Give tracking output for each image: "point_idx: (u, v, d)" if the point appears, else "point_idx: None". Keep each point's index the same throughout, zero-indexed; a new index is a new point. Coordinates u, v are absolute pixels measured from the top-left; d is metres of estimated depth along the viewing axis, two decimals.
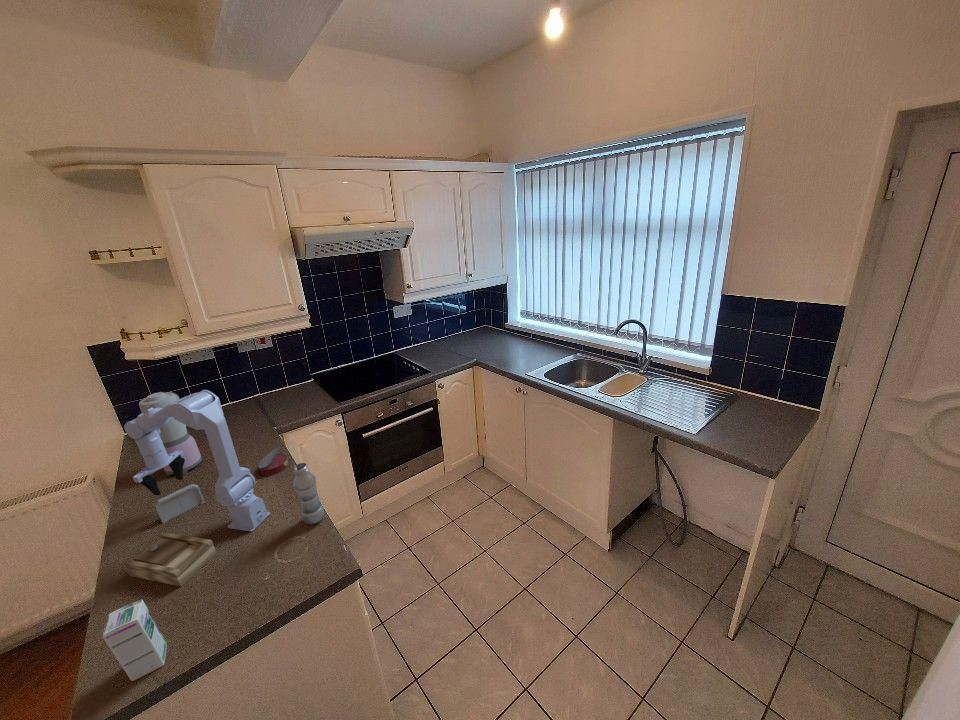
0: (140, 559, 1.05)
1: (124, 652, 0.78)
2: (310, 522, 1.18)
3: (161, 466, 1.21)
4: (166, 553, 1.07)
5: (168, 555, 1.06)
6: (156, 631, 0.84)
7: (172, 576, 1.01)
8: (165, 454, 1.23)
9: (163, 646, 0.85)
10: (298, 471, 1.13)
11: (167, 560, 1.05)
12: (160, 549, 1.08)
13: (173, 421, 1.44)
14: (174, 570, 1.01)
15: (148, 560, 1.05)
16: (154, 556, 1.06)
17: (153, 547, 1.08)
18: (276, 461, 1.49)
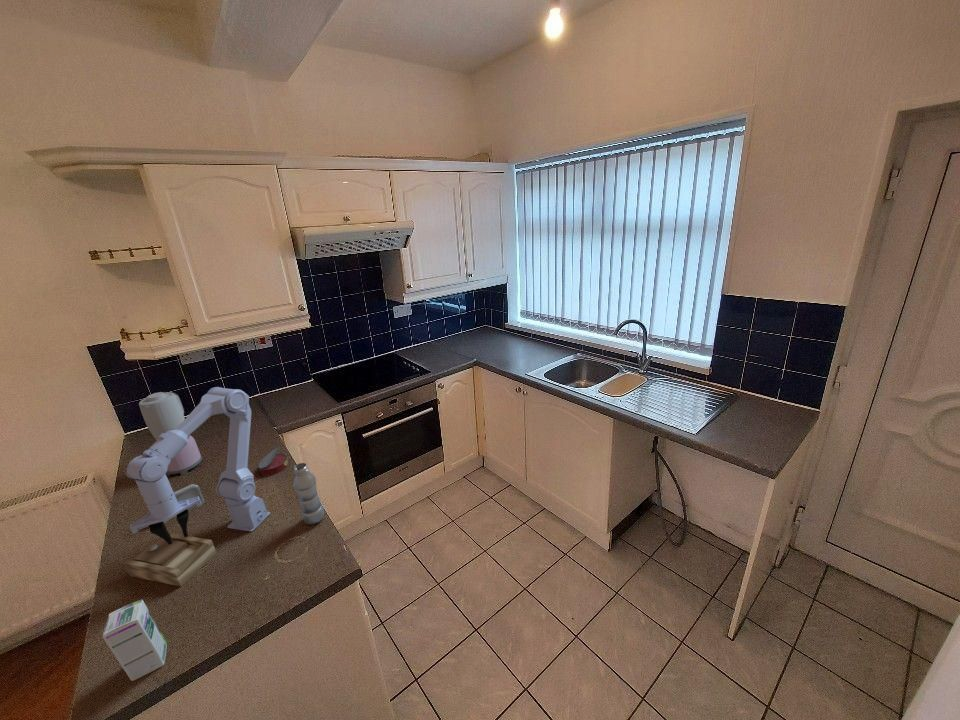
0: (140, 559, 1.05)
1: (124, 652, 0.78)
2: (310, 522, 1.18)
3: (160, 519, 0.98)
4: (166, 553, 1.07)
5: (168, 555, 1.06)
6: (156, 631, 0.84)
7: (172, 576, 1.01)
8: (168, 505, 0.98)
9: (163, 646, 0.85)
10: (298, 471, 1.13)
11: (167, 560, 1.05)
12: (160, 549, 1.08)
13: (173, 421, 1.44)
14: (174, 570, 1.01)
15: (148, 560, 1.05)
16: (154, 556, 1.06)
17: (153, 547, 1.08)
18: (276, 461, 1.49)
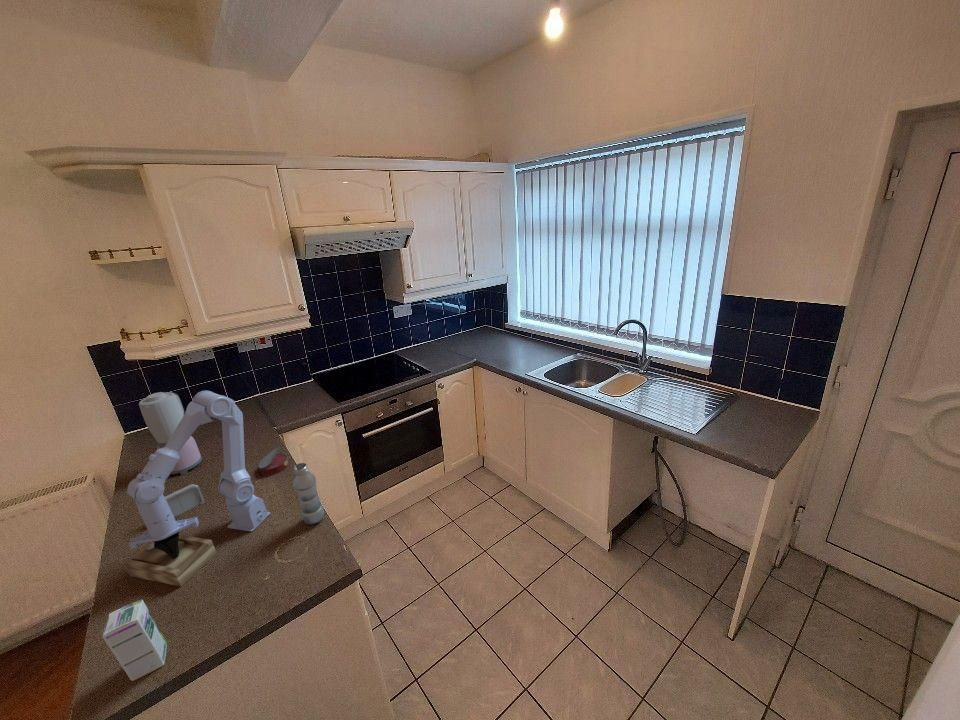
0: (137, 558, 1.06)
1: (124, 652, 0.78)
2: (310, 522, 1.18)
3: (156, 538, 1.01)
4: (163, 552, 1.07)
5: (165, 554, 1.07)
6: (156, 631, 0.84)
7: (172, 576, 1.01)
8: (164, 526, 1.01)
9: (163, 646, 0.85)
10: (298, 471, 1.13)
11: (164, 559, 1.05)
12: None
13: (173, 421, 1.44)
14: (174, 570, 1.01)
15: (145, 559, 1.05)
16: (151, 555, 1.06)
17: (150, 546, 1.09)
18: (276, 461, 1.49)
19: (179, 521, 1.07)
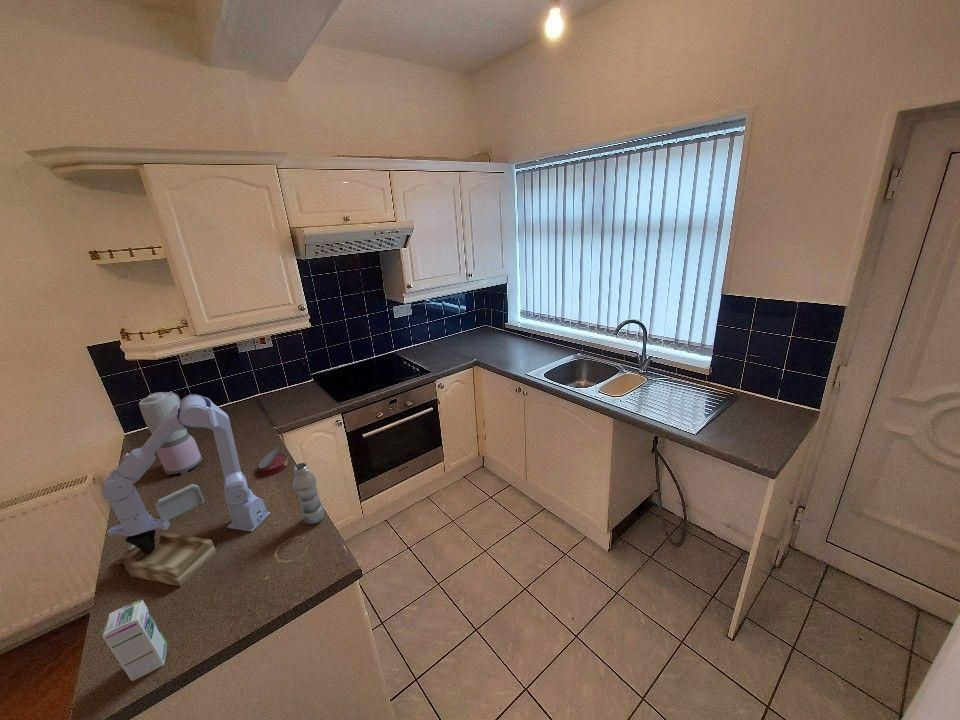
0: (118, 559, 1.09)
1: (124, 652, 0.78)
2: (310, 522, 1.18)
3: (126, 534, 1.03)
4: None
5: None
6: (156, 631, 0.84)
7: (172, 576, 1.01)
8: (132, 524, 1.03)
9: (163, 646, 0.85)
10: (298, 471, 1.13)
11: (140, 552, 1.08)
12: (137, 547, 1.12)
13: None
14: (174, 570, 1.01)
15: (124, 557, 1.08)
16: (130, 553, 1.09)
17: (130, 546, 1.12)
18: (276, 461, 1.49)
19: (154, 519, 1.08)
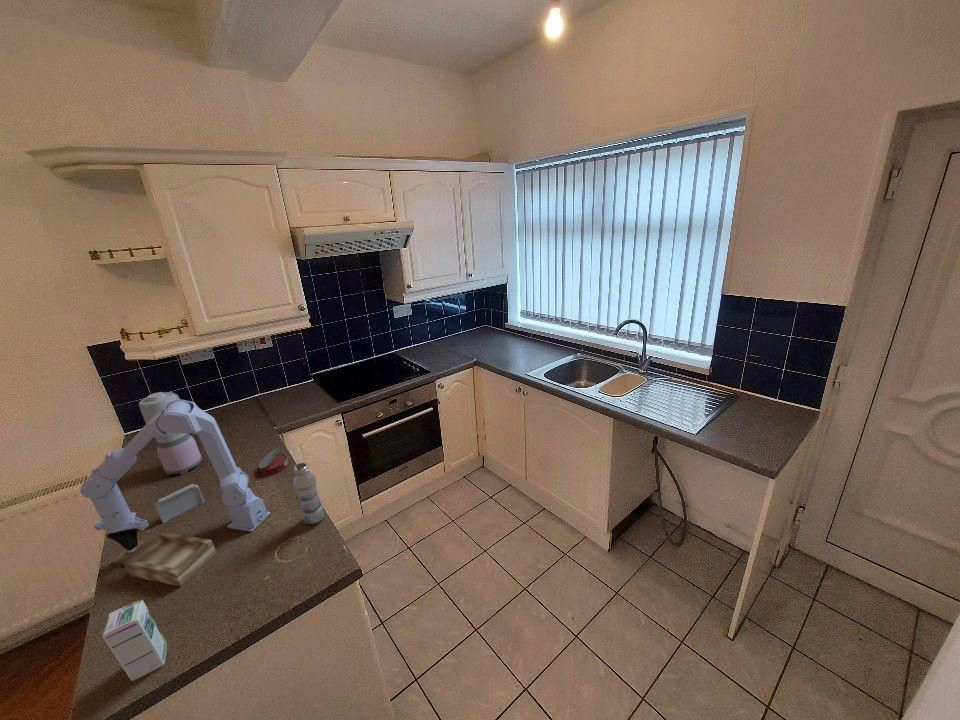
0: (118, 561, 1.10)
1: (124, 652, 0.78)
2: (310, 522, 1.18)
3: (106, 530, 1.05)
4: None
5: None
6: (156, 631, 0.84)
7: (172, 576, 1.01)
8: (111, 522, 1.04)
9: (163, 646, 0.85)
10: (298, 471, 1.13)
11: None
12: (137, 551, 1.13)
13: None
14: (174, 570, 1.01)
15: None
16: (131, 558, 1.11)
17: None
18: (276, 461, 1.49)
19: (136, 518, 1.09)
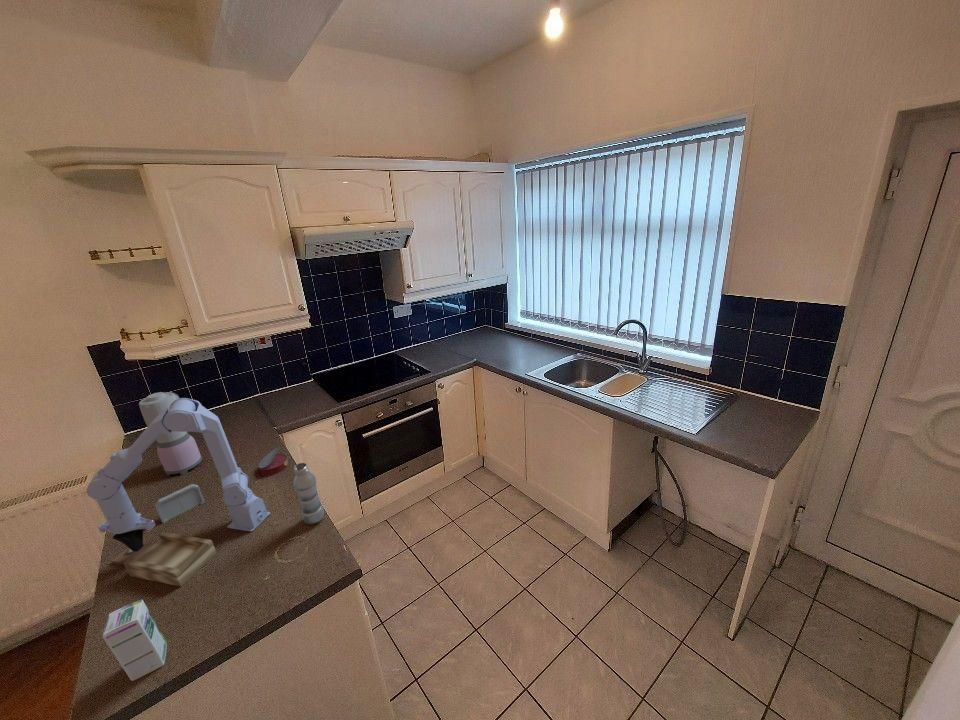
0: (118, 561, 1.10)
1: (124, 652, 0.78)
2: (310, 522, 1.18)
3: (112, 531, 1.05)
4: None
5: None
6: (156, 631, 0.84)
7: (172, 576, 1.01)
8: (117, 522, 1.04)
9: (163, 646, 0.85)
10: (298, 471, 1.13)
11: None
12: (138, 551, 1.13)
13: None
14: (174, 570, 1.01)
15: None
16: (132, 558, 1.11)
17: None
18: (276, 461, 1.49)
19: (142, 518, 1.09)
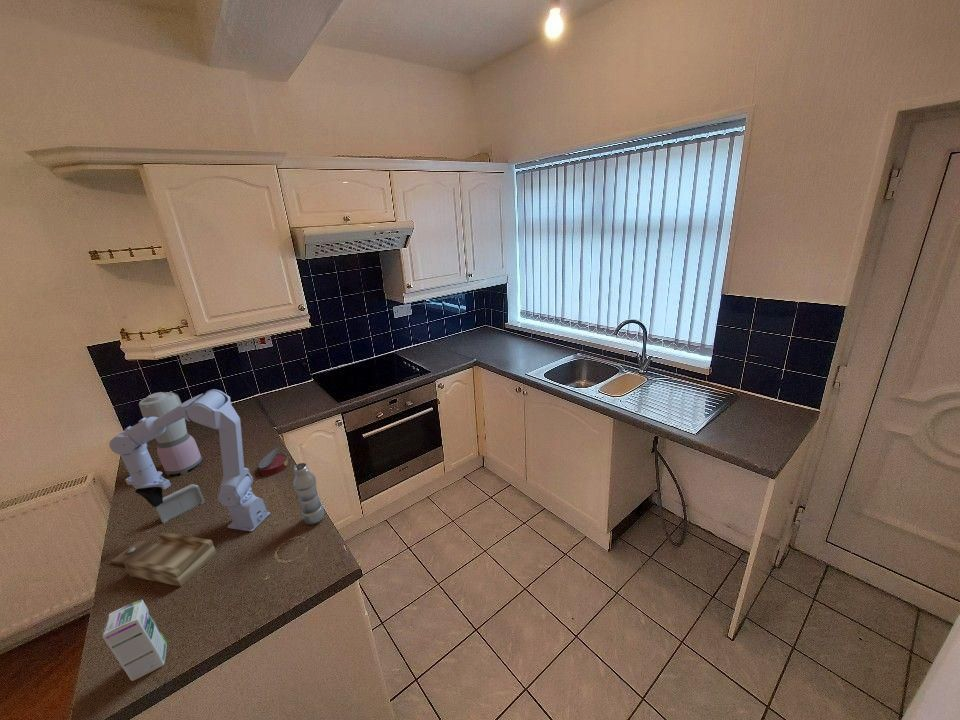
0: (118, 561, 1.10)
1: (124, 652, 0.78)
2: (310, 522, 1.18)
3: (134, 485, 1.12)
4: None
5: None
6: (156, 631, 0.84)
7: (172, 576, 1.01)
8: (137, 478, 1.11)
9: (163, 646, 0.85)
10: (298, 471, 1.13)
11: None
12: (138, 551, 1.13)
13: None
14: (174, 570, 1.01)
15: None
16: (132, 558, 1.11)
17: (131, 549, 1.13)
18: (276, 461, 1.49)
19: (161, 477, 1.15)
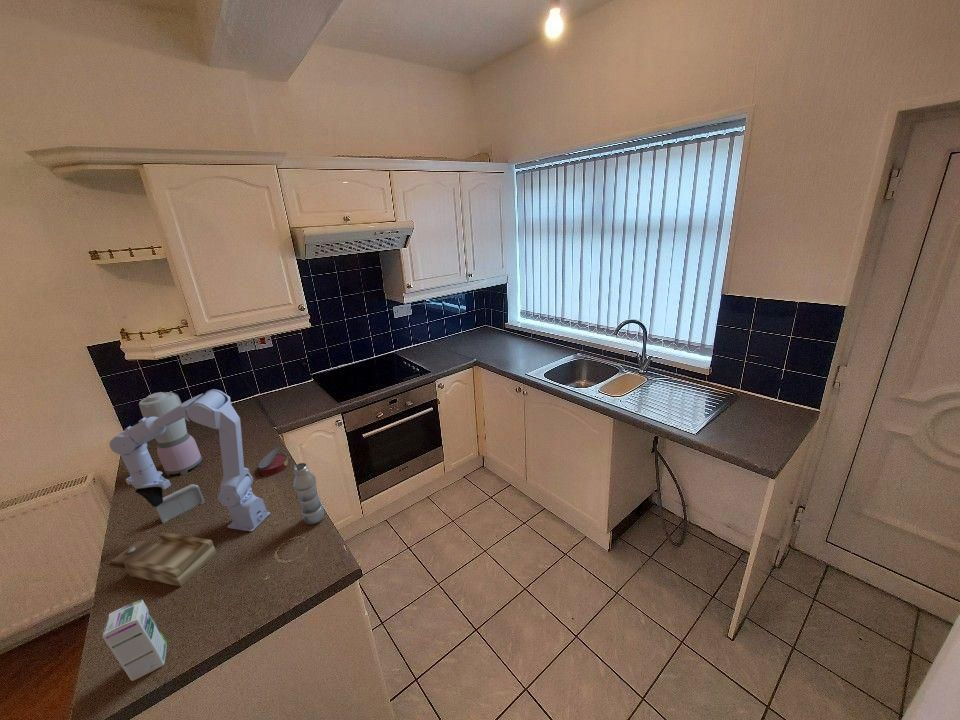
0: (118, 561, 1.10)
1: (124, 652, 0.78)
2: (310, 522, 1.18)
3: (134, 485, 1.12)
4: None
5: None
6: (156, 631, 0.84)
7: (172, 576, 1.01)
8: (137, 478, 1.11)
9: (163, 646, 0.85)
10: (298, 471, 1.13)
11: None
12: (138, 551, 1.13)
13: None
14: (174, 570, 1.01)
15: None
16: (132, 558, 1.11)
17: (131, 549, 1.13)
18: (276, 461, 1.49)
19: (161, 477, 1.15)
